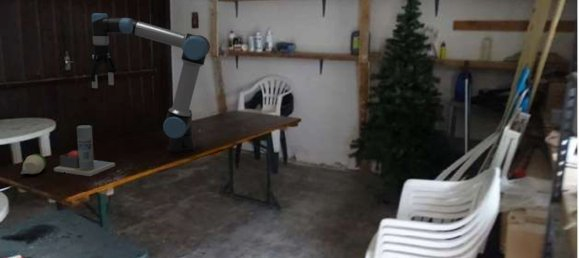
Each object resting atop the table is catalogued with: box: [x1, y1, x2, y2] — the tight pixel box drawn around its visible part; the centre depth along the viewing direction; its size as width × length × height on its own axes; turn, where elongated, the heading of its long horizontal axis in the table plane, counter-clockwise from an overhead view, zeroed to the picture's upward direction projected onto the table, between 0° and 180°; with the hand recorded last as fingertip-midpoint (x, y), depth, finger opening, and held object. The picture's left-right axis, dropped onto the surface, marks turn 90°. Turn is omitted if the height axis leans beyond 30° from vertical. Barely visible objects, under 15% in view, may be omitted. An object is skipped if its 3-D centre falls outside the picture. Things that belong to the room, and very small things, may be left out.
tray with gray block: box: [53, 152, 116, 177], centre depth 234 cm, size 20×18×6 cm
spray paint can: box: [76, 124, 95, 170], centre depth 227 cm, size 6×6×20 cm
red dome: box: [67, 150, 79, 158], centre depth 234 cm, size 7×7×7 cm
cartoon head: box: [20, 153, 47, 175], centre depth 225 cm, size 9×10×20 cm
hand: (103, 86), depth 253 cm, fingers open, 13 cm apart
